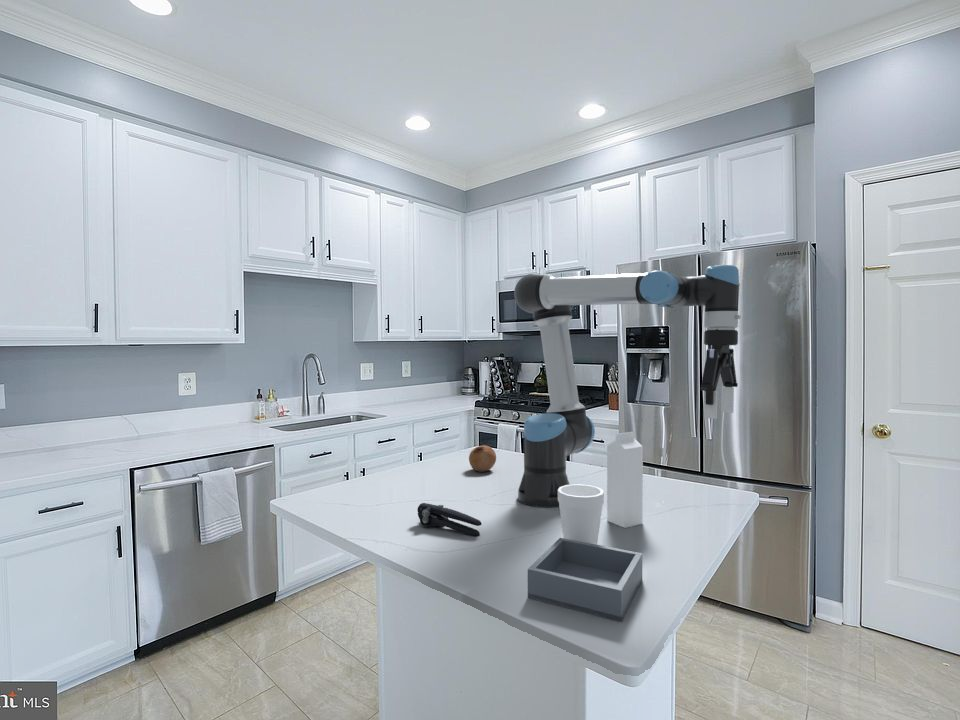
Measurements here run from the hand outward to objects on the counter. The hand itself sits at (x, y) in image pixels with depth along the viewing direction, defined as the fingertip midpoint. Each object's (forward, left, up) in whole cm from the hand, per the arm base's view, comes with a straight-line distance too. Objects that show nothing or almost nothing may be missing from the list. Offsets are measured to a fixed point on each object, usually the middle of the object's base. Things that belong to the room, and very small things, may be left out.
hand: (719, 415), depth 126 cm
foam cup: (-24, -36, -26) cm, 50 cm away
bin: (-18, -51, -26) cm, 60 cm away
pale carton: (-20, -14, -26) cm, 35 cm away
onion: (-75, +14, -26) cm, 80 cm away
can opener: (-55, -38, -26) cm, 72 cm away
